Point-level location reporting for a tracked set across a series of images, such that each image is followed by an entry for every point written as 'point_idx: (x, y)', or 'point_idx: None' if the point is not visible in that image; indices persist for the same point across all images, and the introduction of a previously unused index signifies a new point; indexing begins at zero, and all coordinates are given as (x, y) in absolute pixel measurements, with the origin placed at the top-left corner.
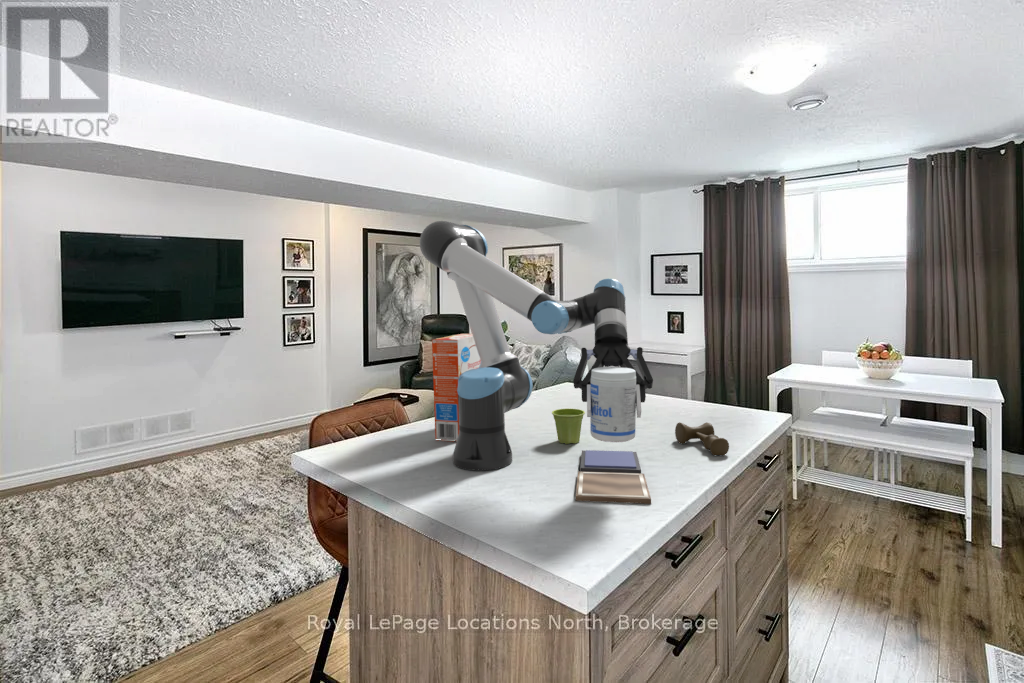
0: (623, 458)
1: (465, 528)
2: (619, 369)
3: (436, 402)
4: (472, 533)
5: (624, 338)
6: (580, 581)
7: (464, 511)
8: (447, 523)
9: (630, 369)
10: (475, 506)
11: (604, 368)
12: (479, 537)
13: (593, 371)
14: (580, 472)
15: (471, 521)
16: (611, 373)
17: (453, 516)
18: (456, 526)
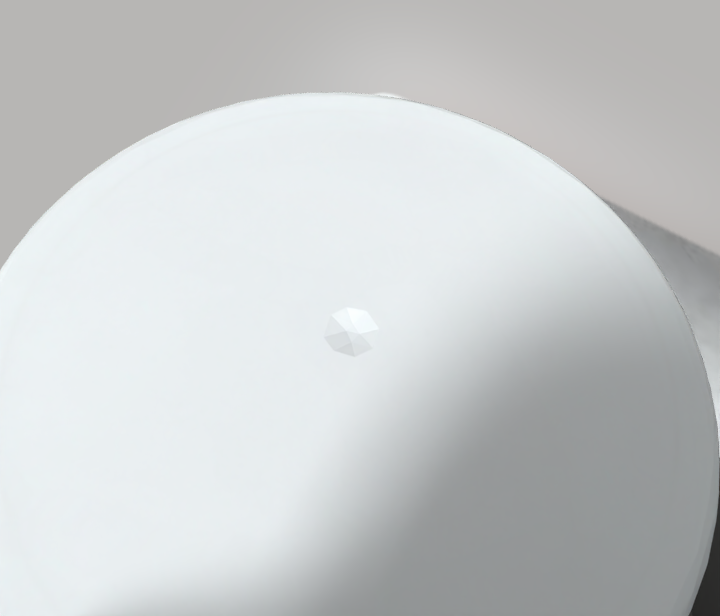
0: None
1: (648, 228)
2: (242, 379)
3: None
4: (622, 210)
5: None
6: (387, 95)
7: (702, 304)
8: (698, 245)
9: (26, 404)
10: (695, 334)
11: (526, 494)
12: (600, 197)
13: (626, 227)
14: None
15: (655, 257)
16: (376, 96)
17: (709, 277)
18: (671, 234)
